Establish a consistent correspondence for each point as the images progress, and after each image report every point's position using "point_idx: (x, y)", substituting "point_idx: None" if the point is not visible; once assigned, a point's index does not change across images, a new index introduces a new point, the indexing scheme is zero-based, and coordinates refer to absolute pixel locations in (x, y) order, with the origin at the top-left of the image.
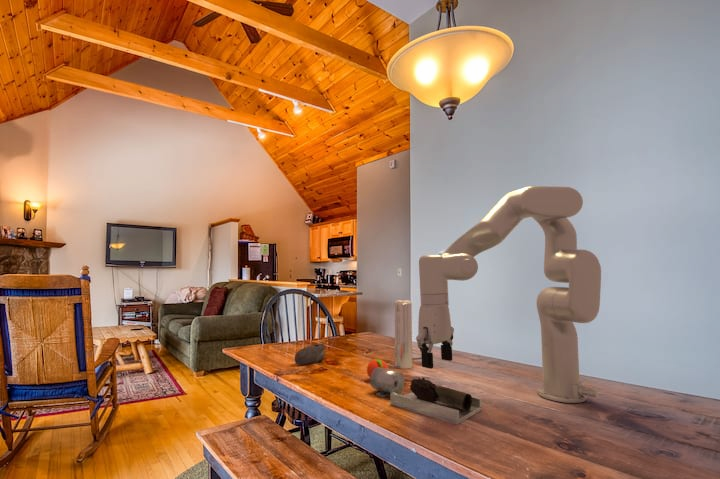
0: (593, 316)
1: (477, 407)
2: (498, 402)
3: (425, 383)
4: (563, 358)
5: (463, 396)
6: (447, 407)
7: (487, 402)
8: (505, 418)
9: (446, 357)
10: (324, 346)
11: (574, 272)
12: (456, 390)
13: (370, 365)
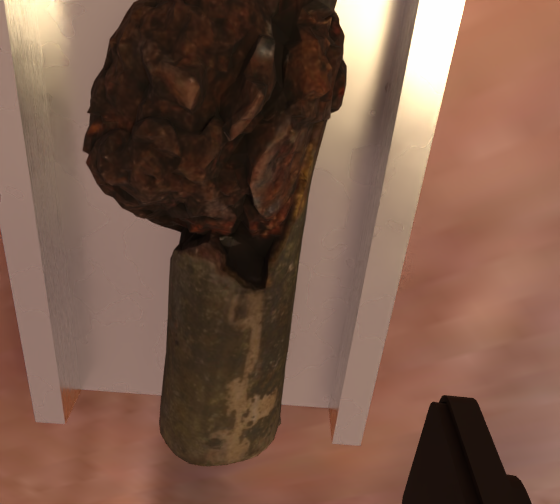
0: None
1: (314, 401)
2: (529, 418)
3: (132, 189)
4: None
5: (173, 448)
6: (54, 367)
7: (499, 380)
8: (306, 486)
9: (420, 491)
10: None
11: None
12: (228, 400)
13: None
